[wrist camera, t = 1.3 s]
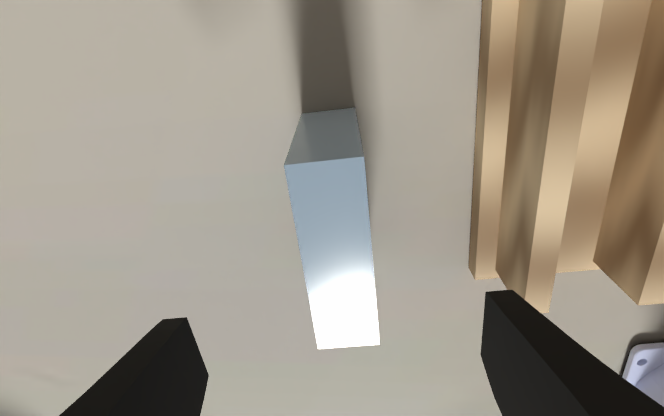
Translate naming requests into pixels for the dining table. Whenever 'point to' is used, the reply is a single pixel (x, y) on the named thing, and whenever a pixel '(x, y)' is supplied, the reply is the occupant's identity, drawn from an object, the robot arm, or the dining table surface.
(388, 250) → the dining table surface
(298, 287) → the dining table surface
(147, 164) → the dining table surface
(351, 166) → the slate plate
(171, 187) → the dining table surface
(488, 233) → the dish rack
